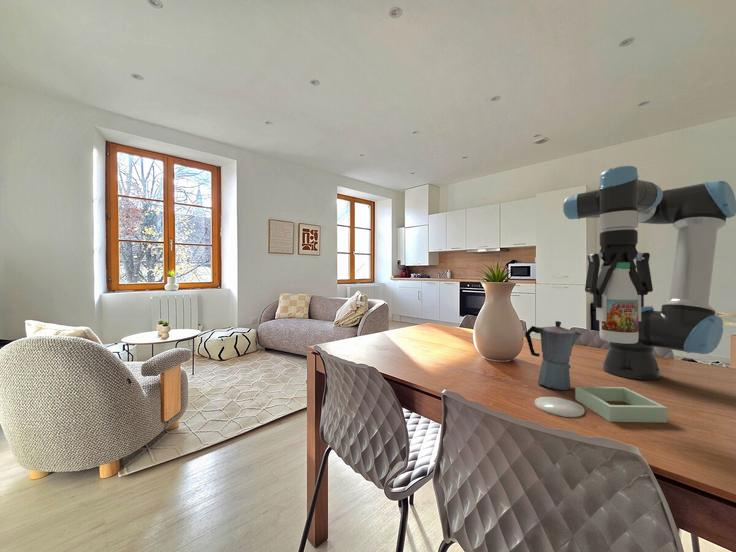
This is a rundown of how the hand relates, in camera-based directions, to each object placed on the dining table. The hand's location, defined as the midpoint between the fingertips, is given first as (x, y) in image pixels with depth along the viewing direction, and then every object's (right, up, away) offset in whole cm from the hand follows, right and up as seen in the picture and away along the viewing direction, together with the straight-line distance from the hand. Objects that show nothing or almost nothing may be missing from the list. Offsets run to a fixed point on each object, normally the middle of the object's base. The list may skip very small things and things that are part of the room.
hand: (618, 320), depth 80 cm
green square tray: (0, -23, 0) cm, 23 cm away
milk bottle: (0, -5, 0) cm, 5 cm away
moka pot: (-6, -23, +17) cm, 29 cm away
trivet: (-14, -23, +2) cm, 27 cm away
